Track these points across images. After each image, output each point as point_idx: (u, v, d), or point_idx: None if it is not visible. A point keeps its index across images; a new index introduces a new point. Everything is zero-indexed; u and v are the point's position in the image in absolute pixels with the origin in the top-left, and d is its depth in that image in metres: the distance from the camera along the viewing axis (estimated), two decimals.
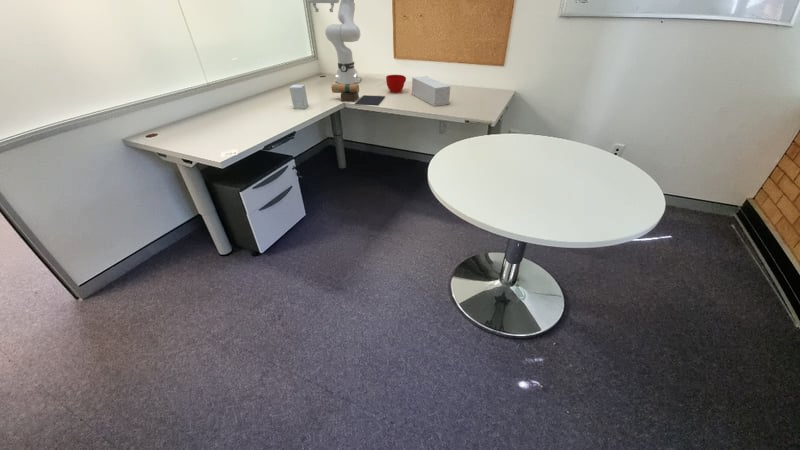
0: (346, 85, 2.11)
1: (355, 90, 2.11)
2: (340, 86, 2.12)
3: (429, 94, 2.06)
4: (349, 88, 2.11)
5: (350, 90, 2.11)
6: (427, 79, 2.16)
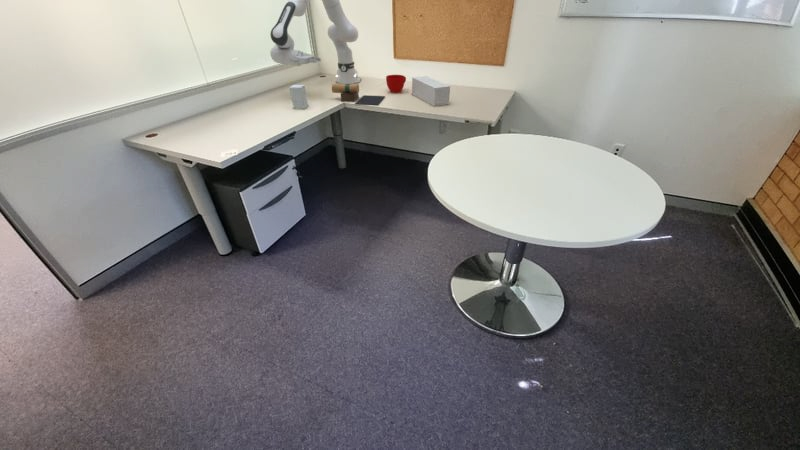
0: (346, 85, 2.11)
1: (355, 90, 2.11)
2: (340, 86, 2.12)
3: (429, 94, 2.06)
4: (349, 88, 2.11)
5: (350, 90, 2.11)
6: (427, 79, 2.16)
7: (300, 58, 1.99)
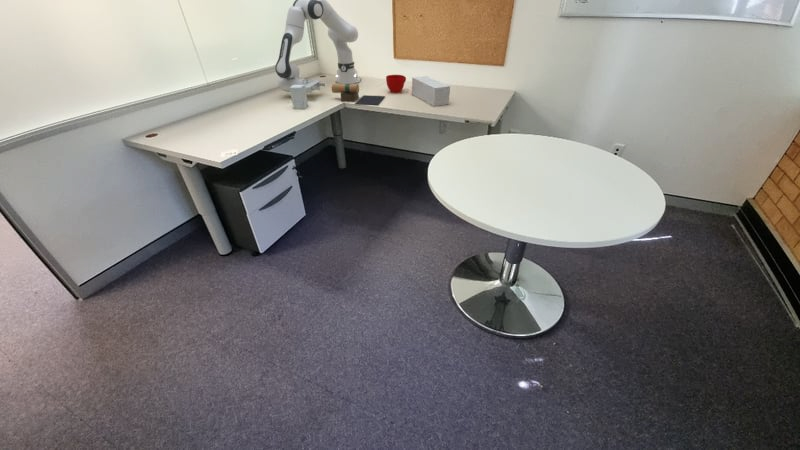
0: (346, 85, 2.11)
1: (355, 90, 2.11)
2: (340, 86, 2.12)
3: (429, 94, 2.06)
4: (349, 88, 2.11)
5: (350, 90, 2.11)
6: (427, 79, 2.16)
7: None
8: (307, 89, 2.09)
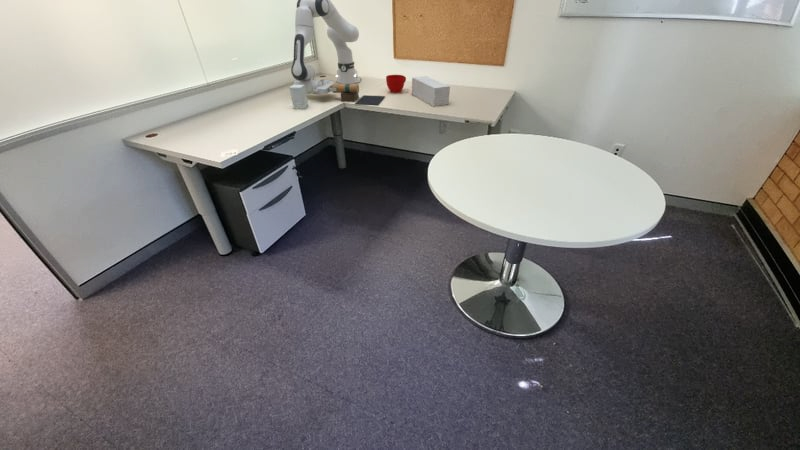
0: (346, 85, 2.11)
1: (355, 90, 2.11)
2: (340, 86, 2.12)
3: (429, 94, 2.06)
4: (349, 88, 2.11)
5: (350, 90, 2.11)
6: (427, 79, 2.16)
7: (320, 89, 2.08)
8: (323, 91, 2.08)
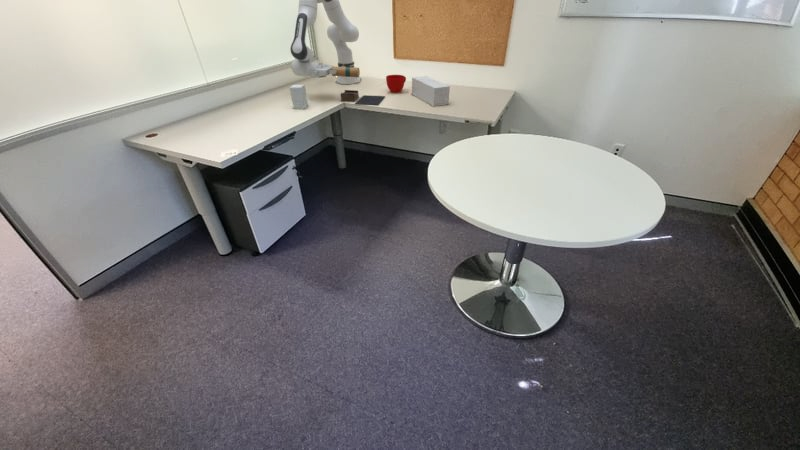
0: (347, 68, 2.06)
1: (356, 73, 2.06)
2: (340, 69, 2.06)
3: (428, 94, 2.06)
4: (349, 71, 2.06)
5: (351, 73, 2.06)
6: (427, 79, 2.16)
7: (320, 70, 2.01)
8: (323, 72, 2.01)
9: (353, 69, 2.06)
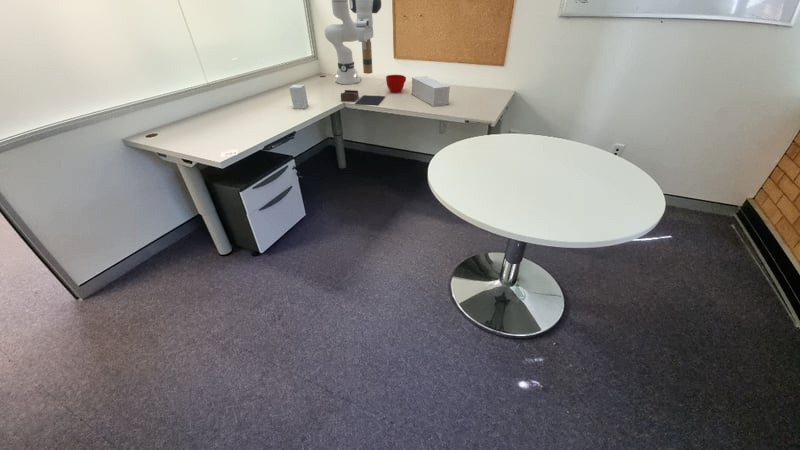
0: None
1: None
2: None
3: (428, 94, 2.06)
4: None
5: None
6: (427, 79, 2.16)
7: None
8: None
9: None
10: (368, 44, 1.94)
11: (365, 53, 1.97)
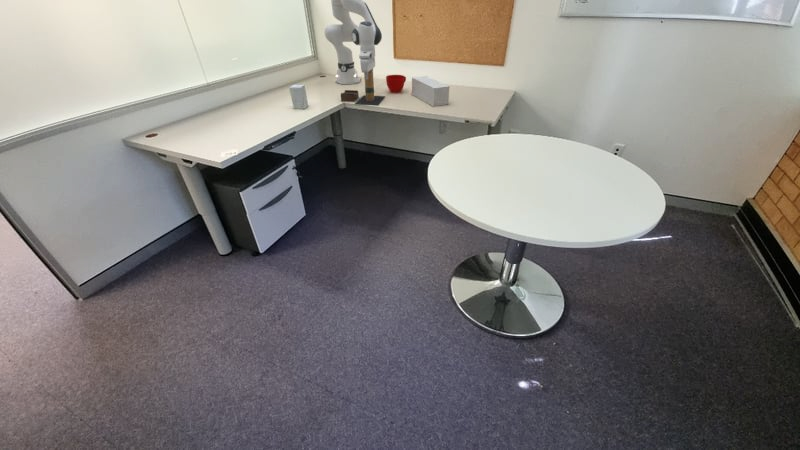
0: None
1: None
2: None
3: (428, 94, 2.06)
4: None
5: None
6: (427, 79, 2.16)
7: None
8: None
9: None
10: (370, 74, 2.04)
11: (368, 82, 2.06)
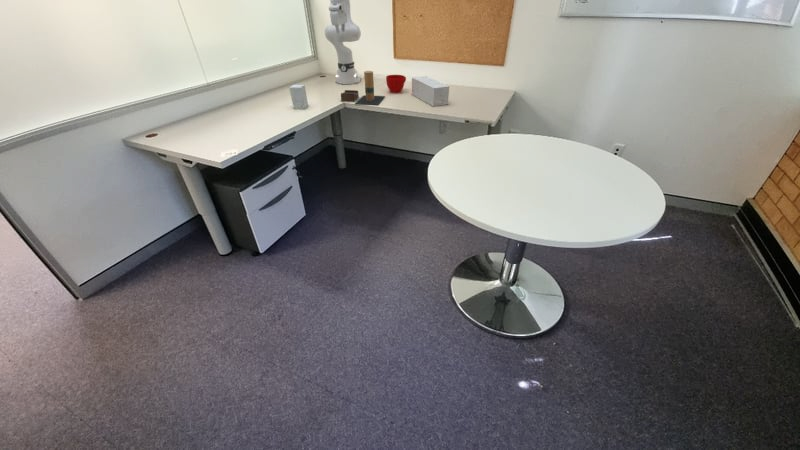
0: None
1: None
2: None
3: (428, 94, 2.06)
4: None
5: None
6: (426, 79, 2.16)
7: None
8: None
9: None
10: (370, 74, 2.04)
11: (368, 82, 2.06)
